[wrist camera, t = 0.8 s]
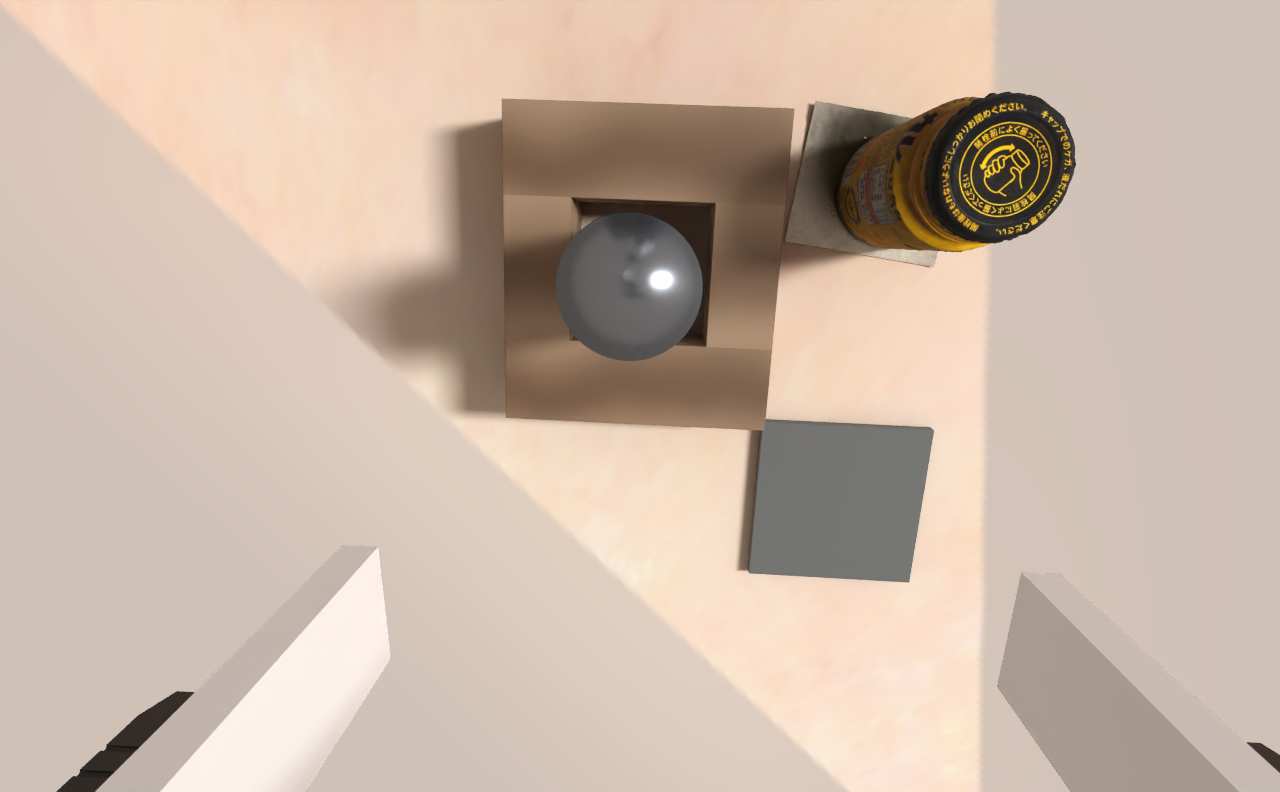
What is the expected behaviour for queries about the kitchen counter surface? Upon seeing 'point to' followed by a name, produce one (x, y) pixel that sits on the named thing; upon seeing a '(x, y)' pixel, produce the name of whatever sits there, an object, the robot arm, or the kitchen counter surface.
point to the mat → (838, 499)
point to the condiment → (930, 177)
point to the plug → (629, 286)
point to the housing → (652, 175)
